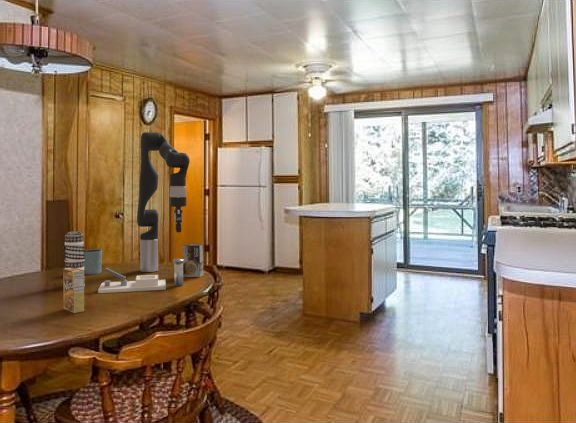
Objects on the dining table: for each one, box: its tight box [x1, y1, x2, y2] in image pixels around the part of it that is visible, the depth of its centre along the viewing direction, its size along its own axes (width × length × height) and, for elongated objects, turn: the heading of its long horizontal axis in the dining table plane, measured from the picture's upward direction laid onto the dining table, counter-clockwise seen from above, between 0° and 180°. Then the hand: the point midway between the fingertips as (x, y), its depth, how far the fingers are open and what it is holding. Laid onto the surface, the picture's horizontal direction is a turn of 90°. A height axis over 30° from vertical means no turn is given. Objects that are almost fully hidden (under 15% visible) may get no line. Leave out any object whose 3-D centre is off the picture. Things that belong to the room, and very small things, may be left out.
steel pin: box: [172, 258, 184, 287], centre depth 213 cm, size 5×5×12 cm
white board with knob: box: [97, 274, 167, 294], centre depth 208 cm, size 15×28×4 cm, turn 105°
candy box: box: [62, 267, 85, 314], centre depth 170 cm, size 9×4×15 cm, turn 50°
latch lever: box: [104, 267, 127, 281], centre depth 205 cm, size 4×10×1 cm, turn 105°
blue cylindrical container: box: [83, 248, 103, 275], centre depth 242 cm, size 10×10×12 cm
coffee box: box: [182, 243, 204, 278], centre depth 235 cm, size 9×6×16 cm
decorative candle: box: [62, 230, 86, 287], centre depth 210 cm, size 9×9×25 cm
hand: (178, 231), depth 212 cm, fingers open, 8 cm apart
